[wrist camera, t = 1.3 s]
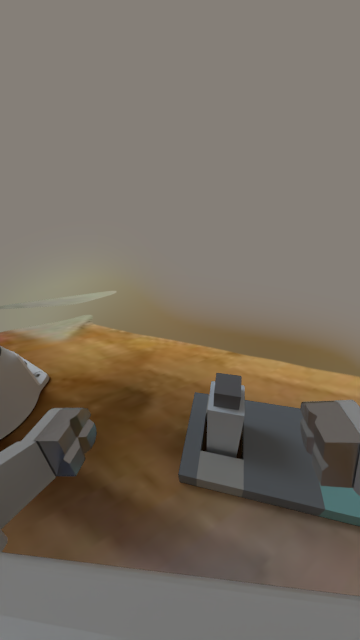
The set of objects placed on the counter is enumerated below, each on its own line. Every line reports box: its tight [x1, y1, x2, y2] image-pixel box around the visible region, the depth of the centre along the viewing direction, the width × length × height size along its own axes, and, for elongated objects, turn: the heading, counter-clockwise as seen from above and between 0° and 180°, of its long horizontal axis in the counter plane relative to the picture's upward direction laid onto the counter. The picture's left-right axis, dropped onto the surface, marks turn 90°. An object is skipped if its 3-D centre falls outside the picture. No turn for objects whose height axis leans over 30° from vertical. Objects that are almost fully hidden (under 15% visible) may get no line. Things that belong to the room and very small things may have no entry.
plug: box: [207, 373, 245, 458], centre depth 29 cm, size 4×4×13 cm
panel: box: [178, 392, 360, 526], centre depth 30 cm, size 24×12×2 cm, turn 77°
